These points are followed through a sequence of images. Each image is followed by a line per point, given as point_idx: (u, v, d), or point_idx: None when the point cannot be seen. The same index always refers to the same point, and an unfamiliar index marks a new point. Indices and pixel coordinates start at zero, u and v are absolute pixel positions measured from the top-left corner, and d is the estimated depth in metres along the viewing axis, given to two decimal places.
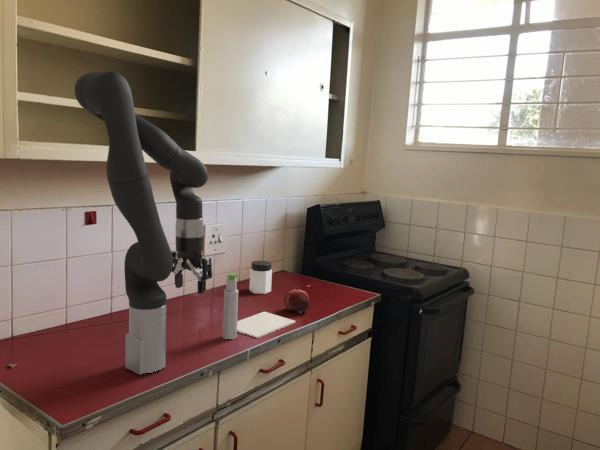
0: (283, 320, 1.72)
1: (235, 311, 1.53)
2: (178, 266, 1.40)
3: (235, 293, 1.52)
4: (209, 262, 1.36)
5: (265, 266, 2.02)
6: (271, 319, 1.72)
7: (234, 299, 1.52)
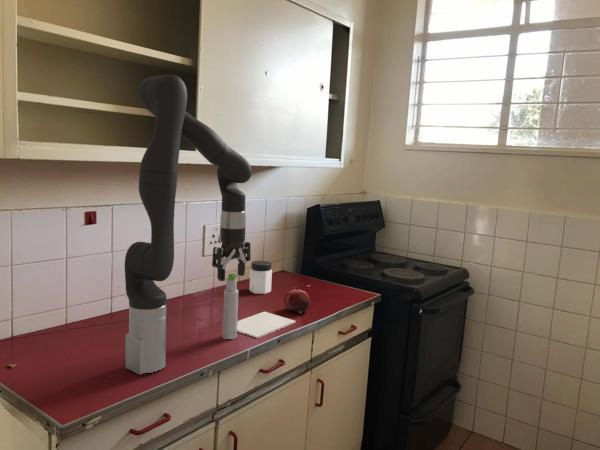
0: (283, 320, 1.72)
1: (235, 311, 1.53)
2: (230, 258, 1.49)
3: (235, 293, 1.52)
4: None
5: (265, 266, 2.02)
6: (271, 319, 1.72)
7: (234, 299, 1.52)
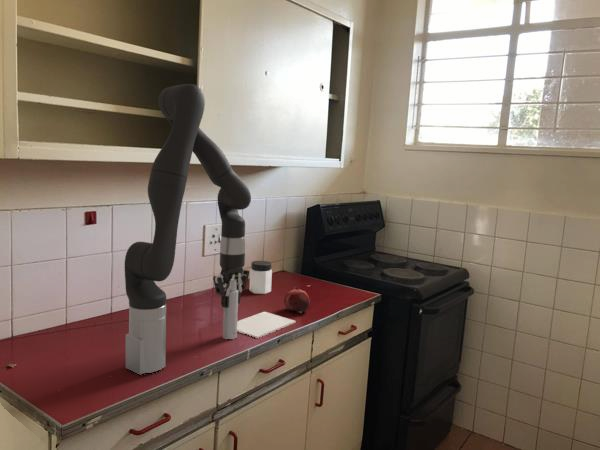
0: (283, 320, 1.72)
1: (235, 311, 1.53)
2: (231, 284, 1.51)
3: (235, 293, 1.52)
4: None
5: (265, 266, 2.02)
6: (271, 319, 1.72)
7: (234, 299, 1.52)
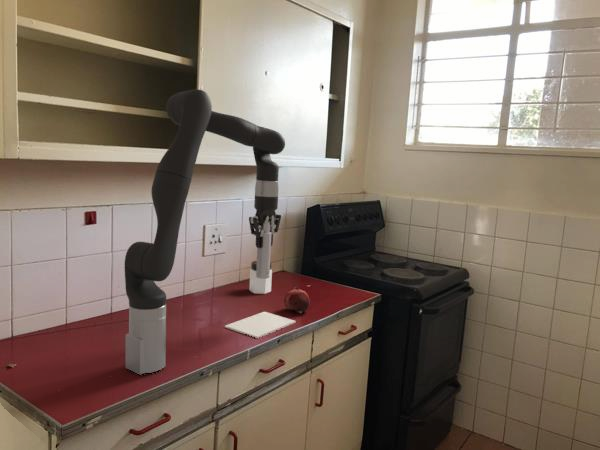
0: (283, 320, 1.72)
1: (268, 251, 1.63)
2: (265, 225, 1.60)
3: (269, 234, 1.62)
4: None
5: None
6: (271, 319, 1.72)
7: (268, 240, 1.62)
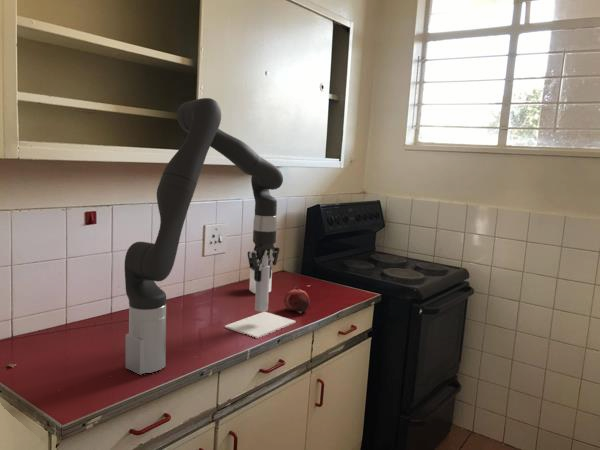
0: (283, 320, 1.72)
1: (267, 285, 1.64)
2: (264, 259, 1.62)
3: (267, 268, 1.63)
4: None
5: None
6: (271, 319, 1.72)
7: (266, 273, 1.64)
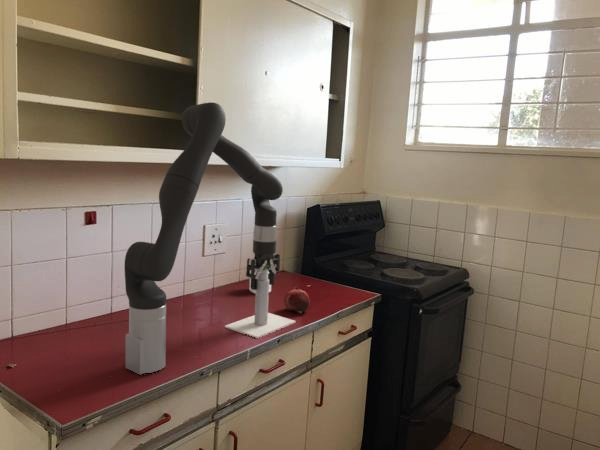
0: (283, 320, 1.72)
1: (266, 299, 1.65)
2: (262, 269, 1.62)
3: (266, 282, 1.64)
4: None
5: None
6: (271, 319, 1.72)
7: (266, 287, 1.64)
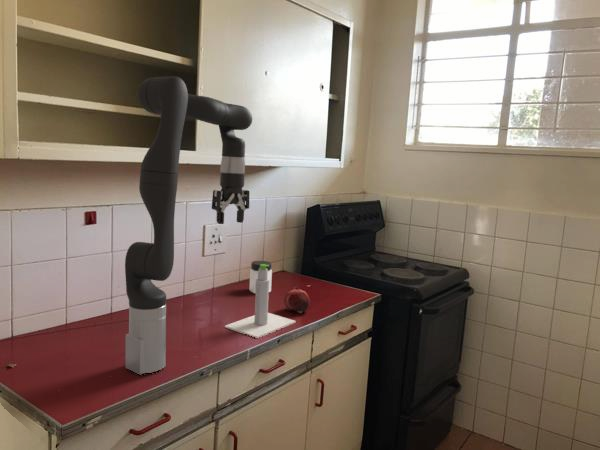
0: (283, 320, 1.72)
1: (266, 299, 1.65)
2: (229, 202, 1.55)
3: (266, 282, 1.64)
4: None
5: None
6: (271, 319, 1.72)
7: (266, 287, 1.64)
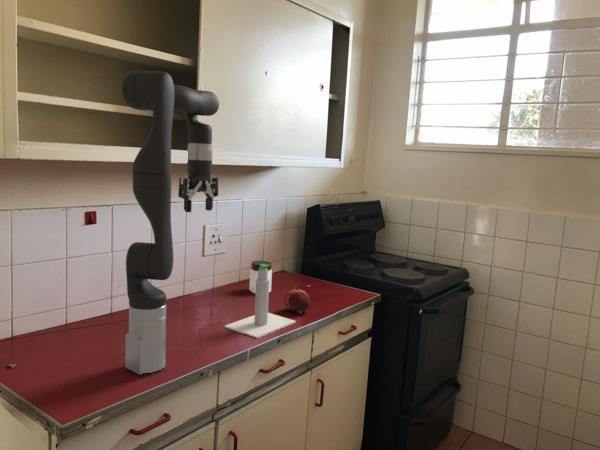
0: (283, 320, 1.72)
1: (266, 299, 1.65)
2: (196, 190, 1.52)
3: (266, 282, 1.64)
4: None
5: None
6: (271, 319, 1.72)
7: (266, 287, 1.64)
